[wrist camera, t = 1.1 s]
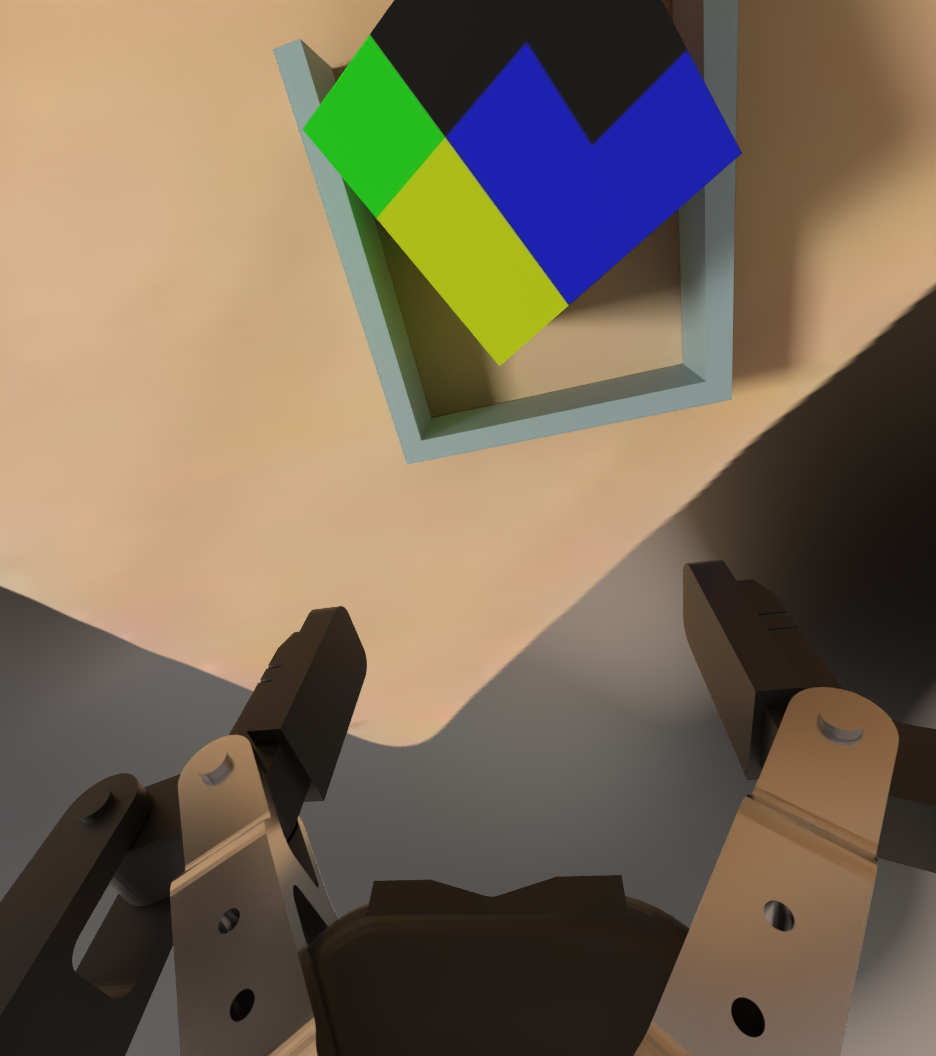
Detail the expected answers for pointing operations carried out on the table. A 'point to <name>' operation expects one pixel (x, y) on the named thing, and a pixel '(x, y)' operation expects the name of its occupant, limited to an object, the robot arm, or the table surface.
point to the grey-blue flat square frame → (700, 380)
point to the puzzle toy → (521, 146)
